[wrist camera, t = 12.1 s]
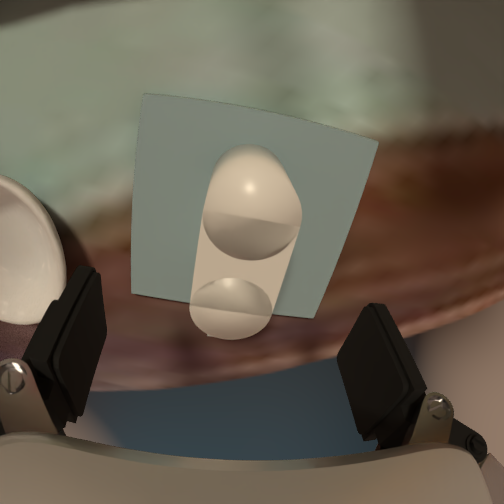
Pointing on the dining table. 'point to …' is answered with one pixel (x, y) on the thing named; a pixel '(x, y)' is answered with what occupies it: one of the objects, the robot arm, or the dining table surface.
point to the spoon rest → (27, 256)
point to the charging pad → (197, 182)
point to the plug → (243, 243)
